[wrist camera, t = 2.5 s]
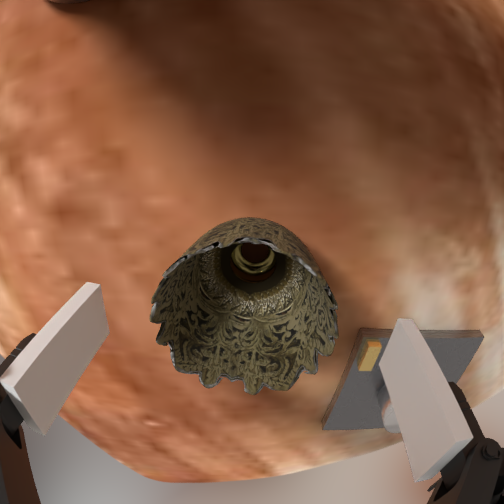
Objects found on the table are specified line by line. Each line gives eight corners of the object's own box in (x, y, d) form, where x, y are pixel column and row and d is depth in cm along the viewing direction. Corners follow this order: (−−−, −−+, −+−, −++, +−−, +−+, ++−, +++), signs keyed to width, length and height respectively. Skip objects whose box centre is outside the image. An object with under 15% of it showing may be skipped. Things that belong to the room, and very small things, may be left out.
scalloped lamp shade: (331, 206, 17) (370, 272, 10) (298, 310, 20) (306, 406, 13) (203, 178, 17) (151, 225, 10) (188, 287, 20) (149, 375, 13)
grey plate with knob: (360, 328, 20) (373, 367, 17) (479, 330, 20) (499, 359, 17) (321, 421, 25) (324, 455, 22) (425, 415, 25) (434, 444, 22)
